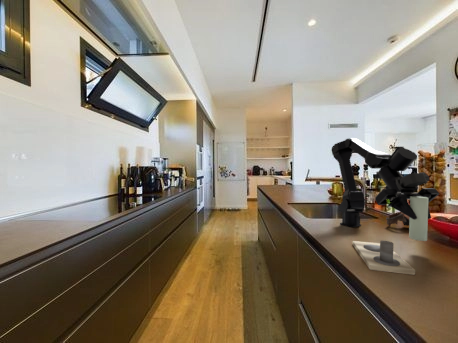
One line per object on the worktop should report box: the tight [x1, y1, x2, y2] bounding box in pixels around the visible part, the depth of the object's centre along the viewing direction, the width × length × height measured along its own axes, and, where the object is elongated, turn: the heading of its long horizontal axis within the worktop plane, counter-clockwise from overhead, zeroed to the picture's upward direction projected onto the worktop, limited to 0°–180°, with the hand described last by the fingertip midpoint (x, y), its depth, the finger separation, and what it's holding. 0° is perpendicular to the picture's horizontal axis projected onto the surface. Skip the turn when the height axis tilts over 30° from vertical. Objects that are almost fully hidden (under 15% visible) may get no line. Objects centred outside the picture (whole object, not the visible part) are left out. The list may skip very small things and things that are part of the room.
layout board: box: [351, 240, 416, 276], centre depth 68 cm, size 20×10×6 cm, turn 163°
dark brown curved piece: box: [385, 211, 410, 227], centre depth 101 cm, size 12×10×8 cm
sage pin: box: [408, 196, 429, 242], centre depth 72 cm, size 4×4×13 cm
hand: (422, 218), depth 70 cm, fingers closed on sage pin, 4 cm apart
